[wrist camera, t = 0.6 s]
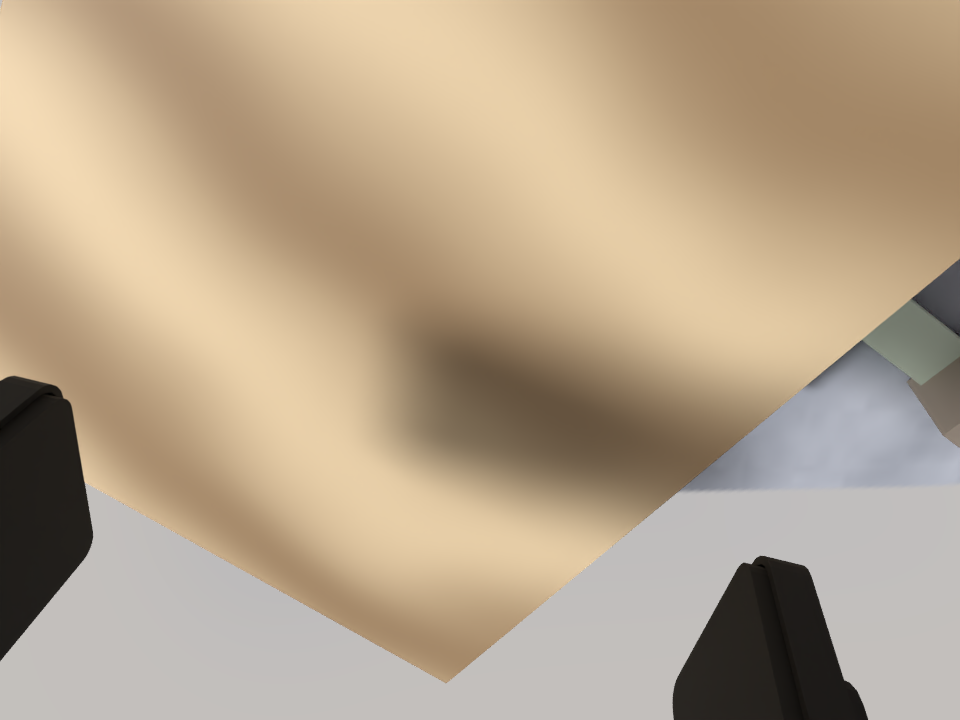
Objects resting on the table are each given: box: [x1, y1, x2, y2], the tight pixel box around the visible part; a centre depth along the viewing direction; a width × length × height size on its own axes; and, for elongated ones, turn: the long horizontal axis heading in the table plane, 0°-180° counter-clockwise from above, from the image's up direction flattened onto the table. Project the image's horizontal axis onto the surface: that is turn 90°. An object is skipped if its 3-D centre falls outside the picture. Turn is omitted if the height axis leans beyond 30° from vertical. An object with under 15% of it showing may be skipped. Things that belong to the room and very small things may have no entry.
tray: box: [862, 299, 960, 448], centre depth 35 cm, size 13×20×5 cm, turn 56°
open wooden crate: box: [0, 0, 960, 683], centre depth 23 cm, size 19×14×26 cm
